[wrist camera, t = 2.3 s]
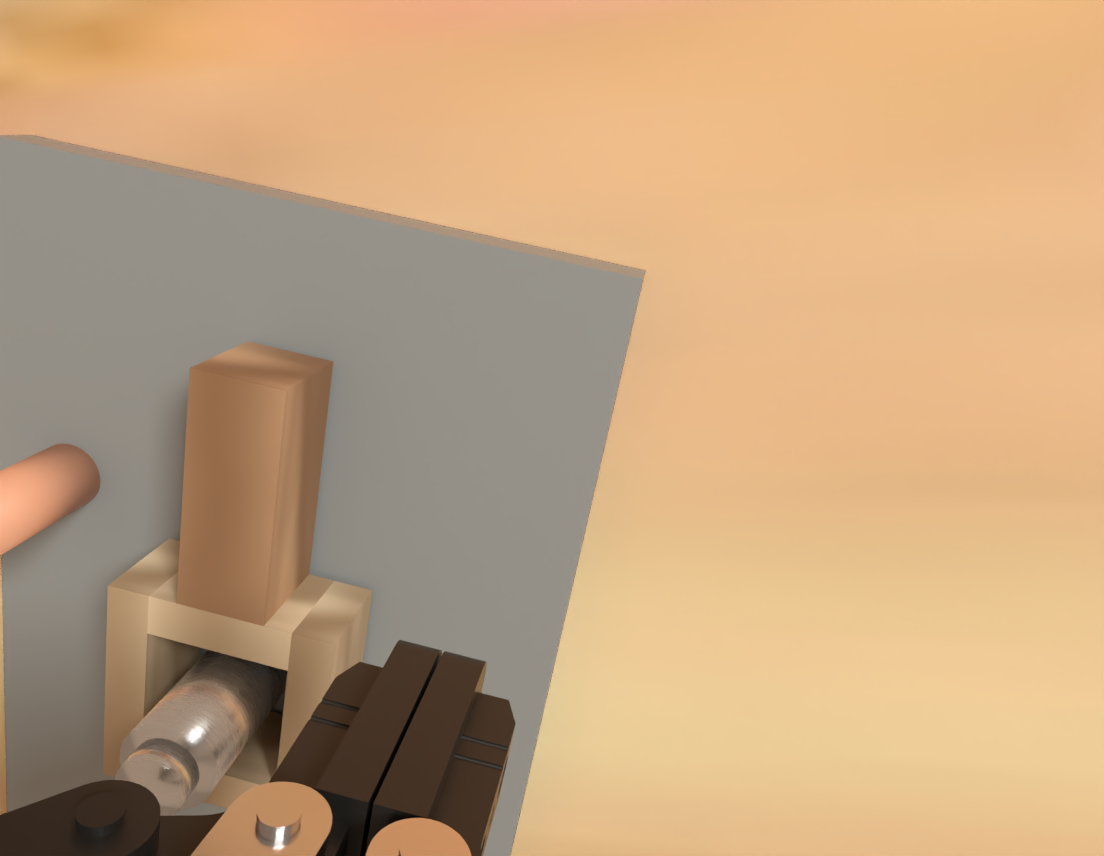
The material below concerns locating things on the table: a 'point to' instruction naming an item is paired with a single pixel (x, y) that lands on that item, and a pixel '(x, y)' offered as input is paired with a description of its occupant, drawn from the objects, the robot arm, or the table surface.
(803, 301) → the table surface
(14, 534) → the salmon orange capsule
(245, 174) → the table surface
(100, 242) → the jig deck
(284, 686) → the post
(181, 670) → the square frame with handle
